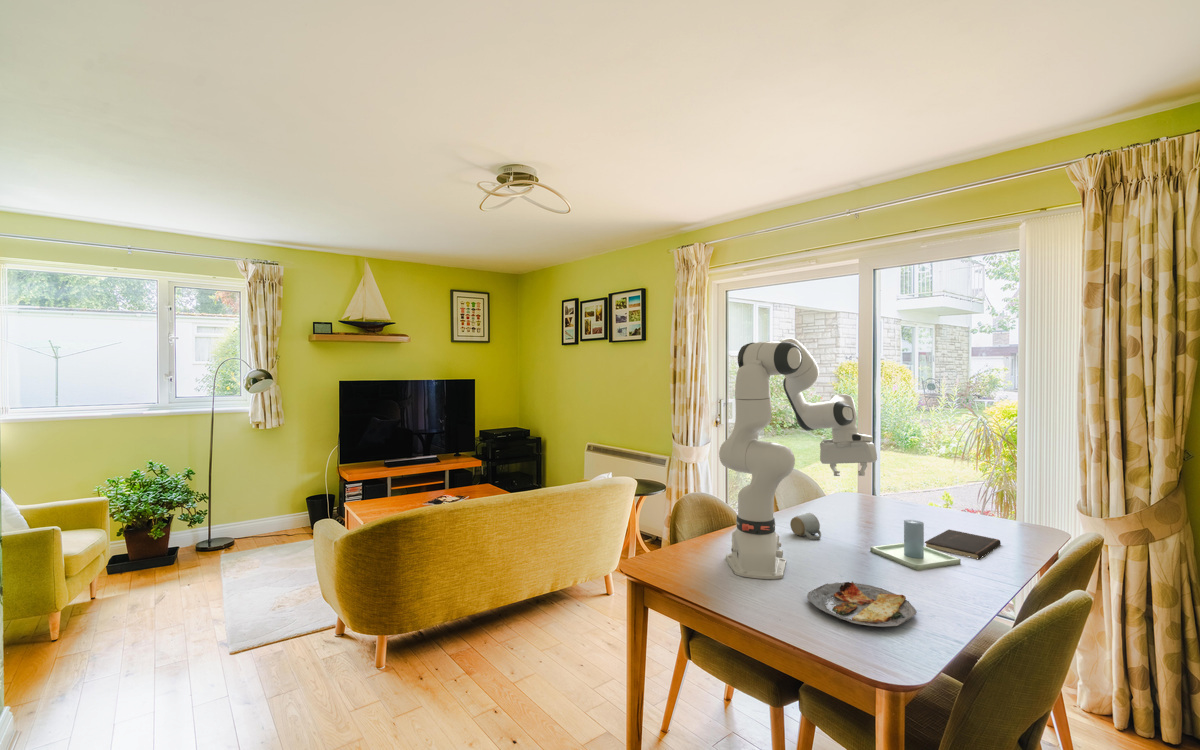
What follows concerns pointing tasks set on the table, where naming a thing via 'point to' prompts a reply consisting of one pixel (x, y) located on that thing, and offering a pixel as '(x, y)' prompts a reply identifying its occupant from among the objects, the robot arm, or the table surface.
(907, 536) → the grey cylinder
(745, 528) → the robot arm
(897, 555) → the tray
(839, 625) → the table surface
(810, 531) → the ceramic mug
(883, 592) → the food plate
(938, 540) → the hardcover book
